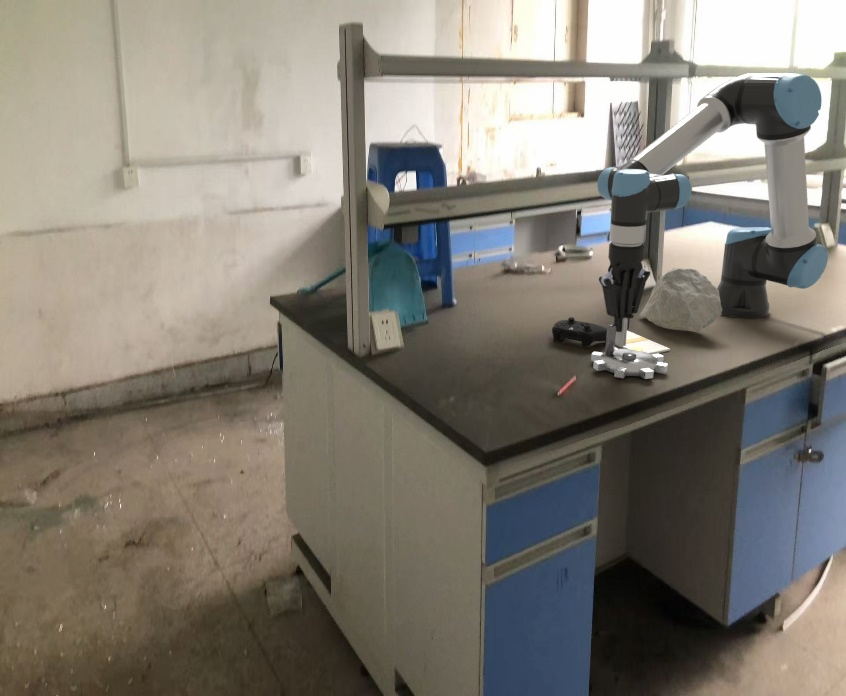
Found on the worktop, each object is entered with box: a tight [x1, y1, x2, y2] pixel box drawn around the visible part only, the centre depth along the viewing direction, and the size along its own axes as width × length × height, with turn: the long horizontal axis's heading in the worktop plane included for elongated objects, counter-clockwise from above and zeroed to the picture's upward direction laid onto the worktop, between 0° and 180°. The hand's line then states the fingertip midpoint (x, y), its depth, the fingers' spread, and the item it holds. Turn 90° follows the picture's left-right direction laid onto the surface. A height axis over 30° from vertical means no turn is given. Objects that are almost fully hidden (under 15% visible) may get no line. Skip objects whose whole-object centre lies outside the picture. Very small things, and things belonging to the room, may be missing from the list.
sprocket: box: [590, 323, 669, 380], centre depth 176 cm, size 17×17×9 cm
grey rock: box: [639, 266, 722, 333], centre depth 202 cm, size 22×13×15 cm, turn 31°
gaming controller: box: [551, 317, 607, 347], centre depth 194 cm, size 14×6×10 cm
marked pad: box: [615, 330, 671, 354], centre depth 194 cm, size 9×17×1 cm, turn 26°
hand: (620, 344), depth 180 cm, fingers closed
